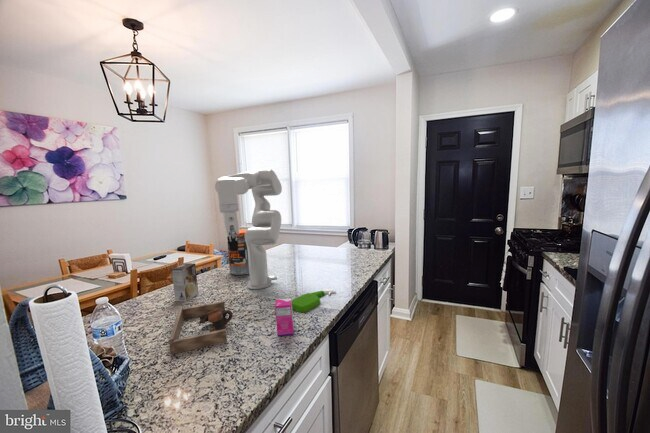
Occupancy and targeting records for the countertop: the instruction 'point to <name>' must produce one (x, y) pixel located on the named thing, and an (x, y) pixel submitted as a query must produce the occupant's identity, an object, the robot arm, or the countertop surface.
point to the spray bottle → (309, 300)
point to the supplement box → (284, 317)
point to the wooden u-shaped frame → (197, 340)
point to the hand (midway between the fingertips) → (233, 247)
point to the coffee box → (185, 281)
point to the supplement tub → (239, 256)
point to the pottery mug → (216, 319)
